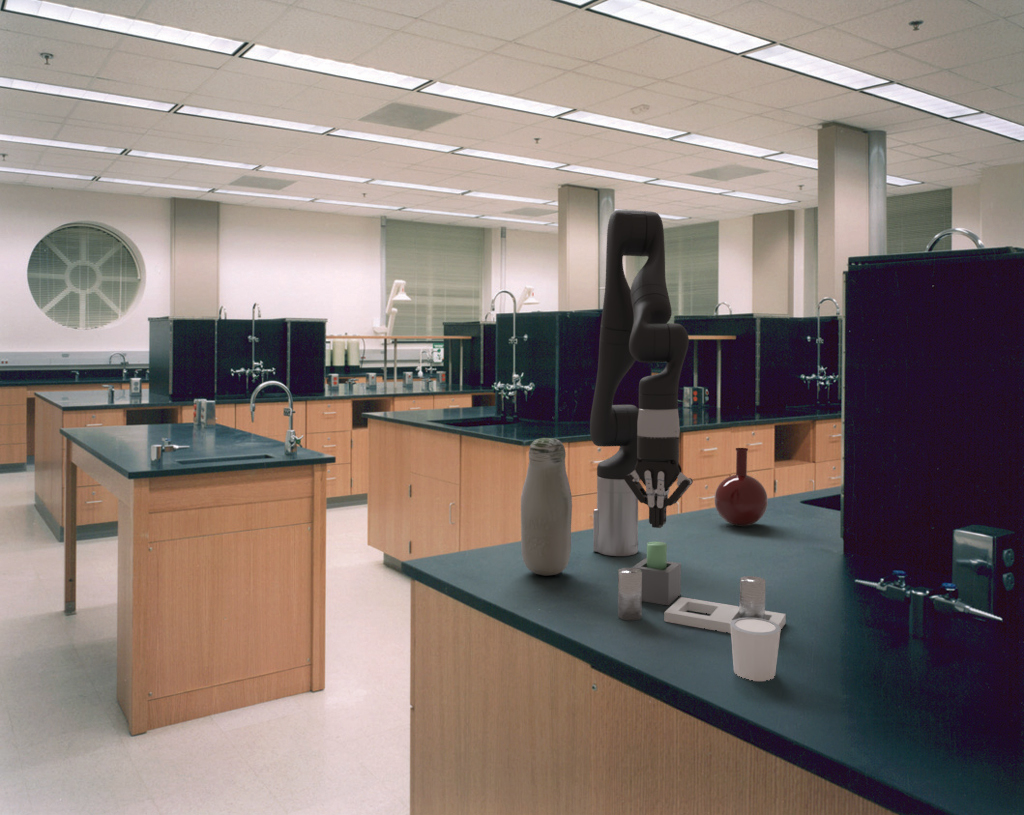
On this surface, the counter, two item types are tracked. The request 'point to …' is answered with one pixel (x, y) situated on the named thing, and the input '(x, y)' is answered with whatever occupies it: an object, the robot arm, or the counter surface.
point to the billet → (630, 593)
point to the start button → (657, 555)
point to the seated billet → (752, 597)
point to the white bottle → (546, 509)
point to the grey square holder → (660, 583)
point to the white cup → (755, 648)
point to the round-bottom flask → (741, 495)
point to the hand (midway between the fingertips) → (657, 526)
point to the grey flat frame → (718, 611)
